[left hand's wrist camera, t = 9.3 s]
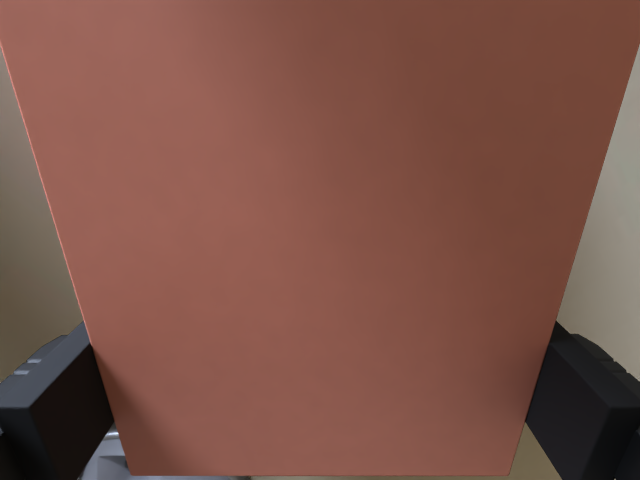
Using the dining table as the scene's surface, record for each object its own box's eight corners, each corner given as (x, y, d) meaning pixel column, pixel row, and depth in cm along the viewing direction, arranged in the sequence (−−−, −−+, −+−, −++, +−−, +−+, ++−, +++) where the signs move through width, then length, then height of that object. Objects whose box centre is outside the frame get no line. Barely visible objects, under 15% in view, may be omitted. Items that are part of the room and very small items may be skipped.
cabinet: (178, -78, 14) (-176, -526, 4) (461, -78, 14) (815, -526, 4) (223, 293, 20) (130, 477, 10) (416, 293, 20) (509, 477, 10)
